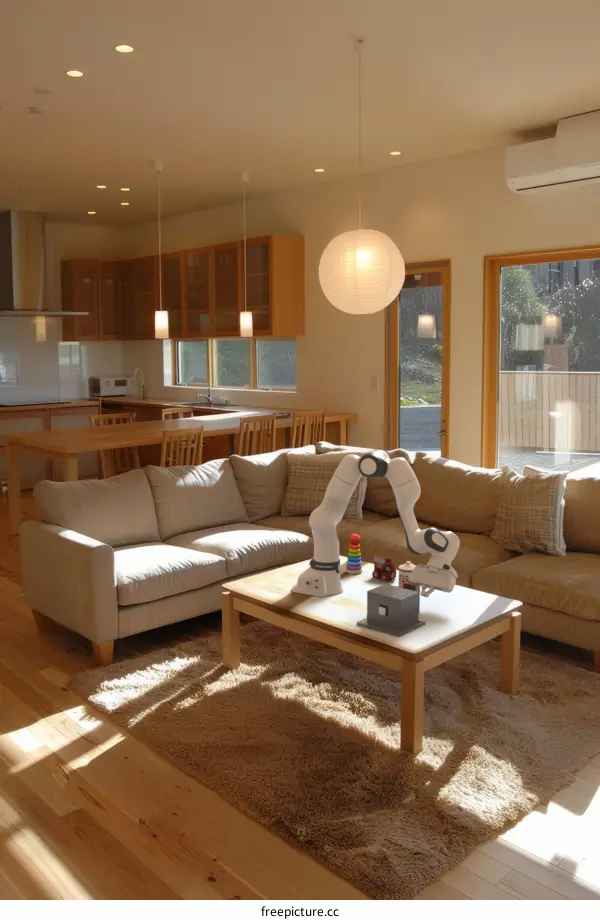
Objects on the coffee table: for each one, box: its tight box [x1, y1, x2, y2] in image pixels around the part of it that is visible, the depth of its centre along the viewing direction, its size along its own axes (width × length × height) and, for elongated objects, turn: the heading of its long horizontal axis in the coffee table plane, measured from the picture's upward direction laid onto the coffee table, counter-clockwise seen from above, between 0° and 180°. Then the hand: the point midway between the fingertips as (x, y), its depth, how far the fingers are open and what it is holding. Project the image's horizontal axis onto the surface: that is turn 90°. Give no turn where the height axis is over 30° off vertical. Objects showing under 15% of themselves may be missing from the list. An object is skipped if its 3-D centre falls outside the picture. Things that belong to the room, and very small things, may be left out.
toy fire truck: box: [371, 554, 397, 582], centre depth 375 cm, size 7×12×10 cm, turn 45°
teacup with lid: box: [397, 560, 416, 588], centre depth 363 cm, size 12×9×12 cm
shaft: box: [379, 581, 421, 616], centre depth 319 cm, size 21×6×12 cm, turn 137°
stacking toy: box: [345, 533, 363, 575], centre depth 385 cm, size 8×8×19 cm
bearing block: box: [356, 583, 427, 638], centre depth 316 cm, size 18×20×13 cm
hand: (424, 596), depth 332 cm, fingers closed
